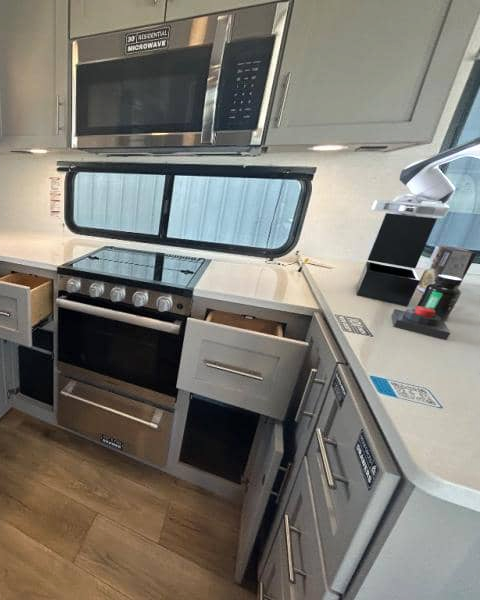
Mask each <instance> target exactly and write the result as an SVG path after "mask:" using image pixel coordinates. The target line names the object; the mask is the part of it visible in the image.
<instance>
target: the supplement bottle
mask: <svg viewBox="0 0 480 600" xmlns="http://www.w3.org/2000/svg"><path fill="white" fill-rule="evenodd" d="M435 281H436V282H435V283H432V284H429V285H428V286H427V287H426V289H425V291H424V292H422V295H421V296H420V297H421V298H420V299H419V301H418V303H417V305H416V306H415V309H416V308H417V306H421V307H427V308H430V309H433V310H435V311H436V312H435V314H436V315H438V316H440V318H441V320H444V321H447V320H448V318H449V316H450V315H451V313H452V311H453V309H454V308H455V305H456V304H457V302H458V301H459V299H460V297H461V295H462V290H461V289H460V288H458V286H459V287H460V286H461V283H463V280H462V279H460V278H457V277H453V276H448V275H438V276H437V278H436V279H435Z"/></svg>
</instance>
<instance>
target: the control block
mask: <svg viewBox="0 0 480 600" xmlns="http://www.w3.org/2000/svg"><path fill="white" fill-rule="evenodd" d="M415 309H416V308H407V309H406V310H405V311H404V310H401V309H397V308H394V309H393V311H392V312H391V313H392V314H391V320H392V327H393V328H397V329H400V330H405V331H408V332H411V333H416V334H420V335H423V336H428V337H432V338H436V339H440V340H444V341H447V340H448V338H449V337H450V335H451V331H450V329H449V327H448V325H447V324H446V322H445V320H441V318H440V316H438V315H436V314H434V316H433V317H425V316H421V315H418V314H416V313H414V311H415Z"/></svg>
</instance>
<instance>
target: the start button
mask: <svg viewBox="0 0 480 600" xmlns="http://www.w3.org/2000/svg"><path fill="white" fill-rule="evenodd" d="M416 307H417V308H416ZM416 307H415V308H414V309H415V311H414V313H416V314H418V315H421V316H425V317H433V316H434V314H435V312H436V311H435V310H433V309H430V308H427V307H421V306H417V305H416Z"/></svg>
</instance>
